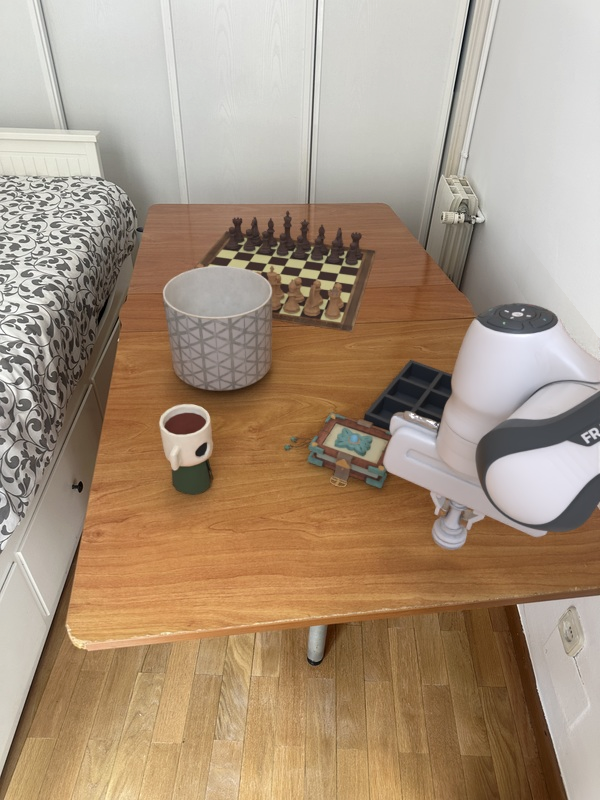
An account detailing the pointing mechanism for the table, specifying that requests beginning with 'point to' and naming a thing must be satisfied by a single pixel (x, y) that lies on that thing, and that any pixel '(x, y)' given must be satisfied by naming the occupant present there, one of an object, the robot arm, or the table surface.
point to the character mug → (188, 446)
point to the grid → (412, 395)
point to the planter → (219, 326)
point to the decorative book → (350, 449)
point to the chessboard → (300, 272)
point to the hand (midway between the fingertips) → (453, 518)
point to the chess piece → (450, 528)
